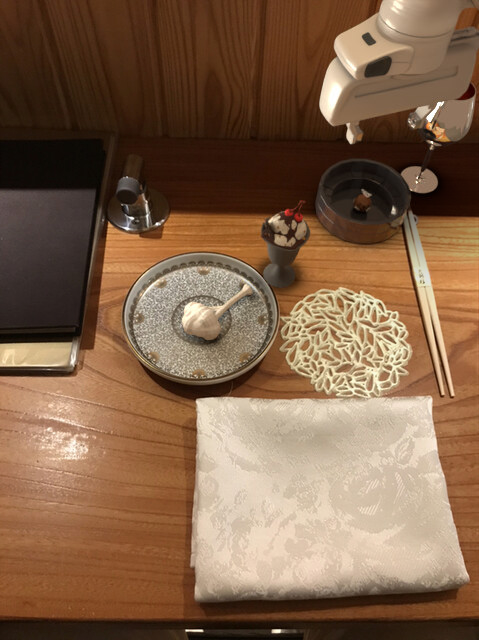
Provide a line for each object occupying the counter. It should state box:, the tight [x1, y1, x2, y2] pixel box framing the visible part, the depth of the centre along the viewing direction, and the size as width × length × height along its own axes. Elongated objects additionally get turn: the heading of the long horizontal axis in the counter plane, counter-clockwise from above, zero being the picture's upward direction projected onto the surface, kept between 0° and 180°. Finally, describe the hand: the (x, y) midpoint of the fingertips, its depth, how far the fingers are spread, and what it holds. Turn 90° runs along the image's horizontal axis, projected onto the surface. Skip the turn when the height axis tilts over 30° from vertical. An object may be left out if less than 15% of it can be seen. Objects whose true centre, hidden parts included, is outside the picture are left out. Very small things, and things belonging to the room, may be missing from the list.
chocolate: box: [353, 189, 372, 212], centre depth 90 cm, size 3×2×4 cm
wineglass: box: [400, 81, 477, 194], centre depth 89 cm, size 8×8×18 cm
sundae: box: [260, 200, 311, 289], centre depth 78 cm, size 7×7×15 cm
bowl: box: [314, 158, 412, 244], centre depth 90 cm, size 14×14×5 cm
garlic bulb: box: [181, 283, 254, 341], centre depth 79 cm, size 7×5×12 cm
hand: (384, 133), depth 79 cm, fingers open, 8 cm apart
